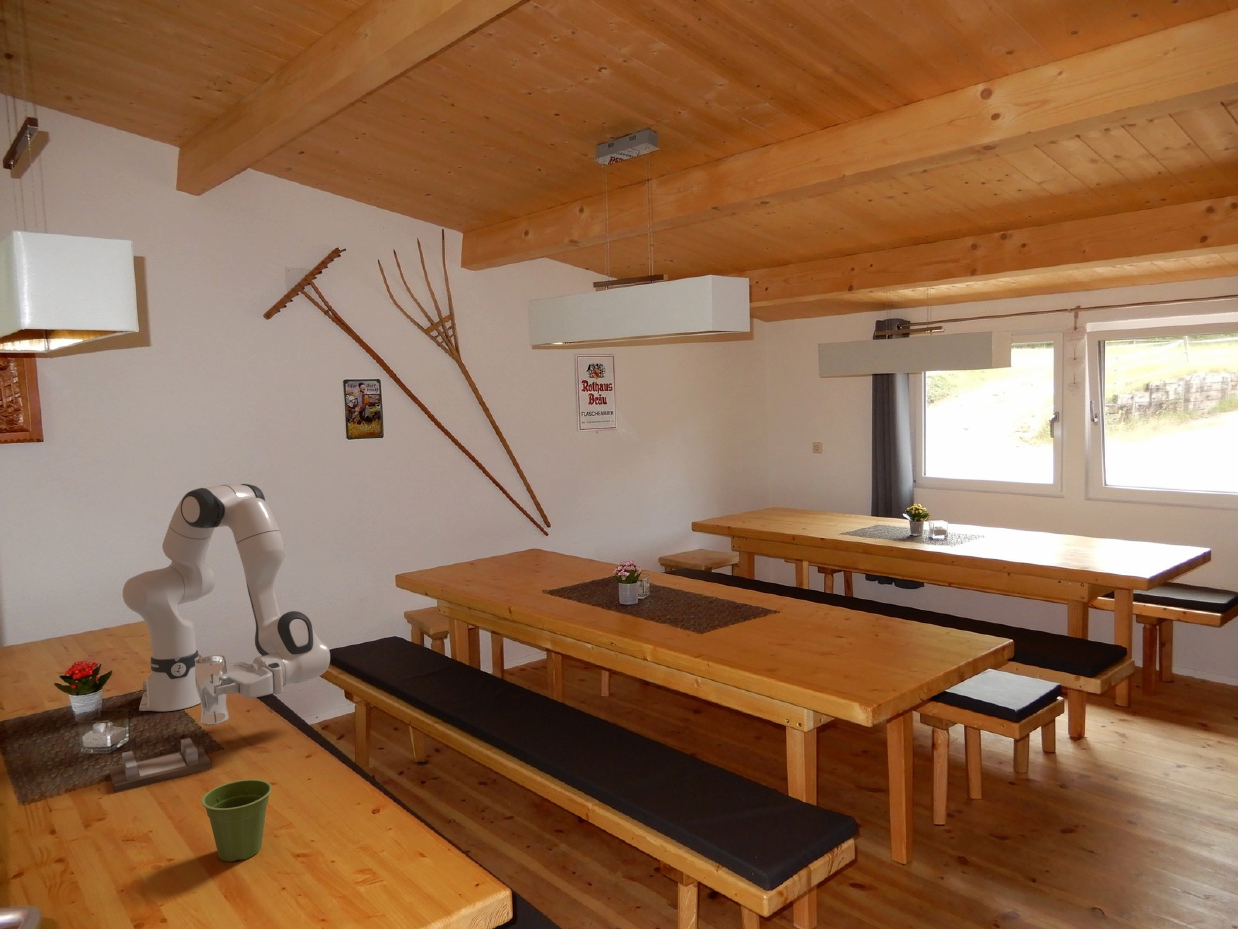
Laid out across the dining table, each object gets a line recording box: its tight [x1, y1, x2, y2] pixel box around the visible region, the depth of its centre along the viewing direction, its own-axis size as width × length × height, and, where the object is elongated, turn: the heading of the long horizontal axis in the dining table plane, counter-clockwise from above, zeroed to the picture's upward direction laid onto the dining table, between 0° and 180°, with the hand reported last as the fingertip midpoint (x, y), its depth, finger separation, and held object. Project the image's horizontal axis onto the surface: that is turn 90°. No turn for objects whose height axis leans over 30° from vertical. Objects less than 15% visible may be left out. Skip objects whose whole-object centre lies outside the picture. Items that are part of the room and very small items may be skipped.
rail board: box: [108, 737, 212, 793], centre depth 188 cm, size 12×19×4 cm, turn 126°
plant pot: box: [201, 778, 273, 862], centre depth 152 cm, size 12×12×11 cm
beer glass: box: [195, 654, 230, 726], centre depth 196 cm, size 7×7×15 cm
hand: (208, 687), depth 195 cm, fingers closed on beer glass, 6 cm apart
